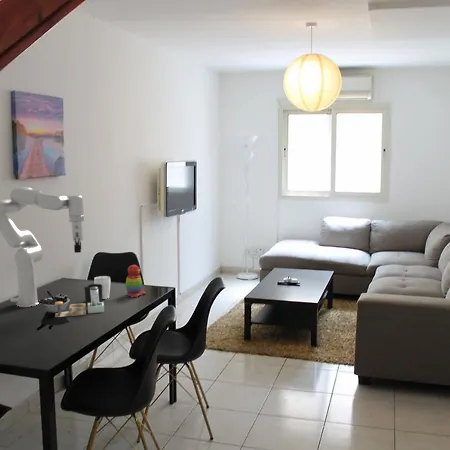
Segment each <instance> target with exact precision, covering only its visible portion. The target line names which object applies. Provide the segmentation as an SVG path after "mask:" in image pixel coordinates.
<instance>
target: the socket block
mask: <svg viewBox="0 0 450 450" xmlns="http://www.w3.org/2000/svg"><path fill="white" fill-rule="evenodd" d="M85 315H87V304H86V302H85V303H72V304H69V308H68V311H60V305H58V313H56V312H55V315H54V317H55V318H62V317H73V316H85Z"/></svg>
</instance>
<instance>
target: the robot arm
mask: <svg viewBox="0 0 450 450" xmlns="http://www.w3.org/2000/svg"><path fill="white" fill-rule="evenodd" d="M9 197H10V198H5V199H4V198H3V199H0V234H1V235H2V237H3V239H4V240H5V242H6V243H7V245H8V246H9V247H10V248H12V249H17V248H18V250H17V251H16V252H15V253H14V263H15V267H16V275H17V289H18V292H17V293H18V296H17V297H16V298H15V297H12V298H10V299H9V300H10V302H11V303H16V304H15V306H16V305H17V306H16V307H18V306H19V307H18V308H31V306H32V307H36V305H37V306H39V305H40V304H39V302H38V300H39V299H38V288H37V270H36V268H35V265H34V264H35V263H37V262H40V261H41V260H42V259H43V257H44V252H43V251H44V250H43V249H42V247H41V244H39V242H38V240H37V239H36V236H34V234H33V233H32V232H31V231H30V230H28V229H26V228H21V229H19V228H18V227H17V226H16V224H15V222H14V221H13V220H12V219H11V218H10V217H9V216H8V215H14V214H17V213H19V212H20V211H22V210H23V209H25V207H27V206H34V207H37V208H40V209H44V210H50V211H61V210H68V222H69V223H71V233H72V234H71V235H72V239H73V242H74V244H73V247H74V248H73V249H74V254H75V253H82V242H81V241H83V240H84V235H83V234H84V231H83V229H84V228H83V223H84V222H85V220H84V219H85V216H84V198H83V196H82V195H80V194H77V195H74V194H73V195H70V194H59V195H50V194H46V193H43V191H41V190H39V189H38V190H37V189H33V188H32V187H29V186H18V187H14V188H13V189H12V190H11V191H10V194H9ZM38 304H39V305H38Z"/></svg>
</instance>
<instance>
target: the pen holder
mask: <svg viewBox="0 0 450 450" xmlns="http://www.w3.org/2000/svg"><path fill="white" fill-rule="evenodd" d="M91 287H98V293H99V302H103V300H102V285H101V284H94V283H93V284H89V285H87V286H84V288H83V289H84V299H85V300H84V301H85V303H86V305H88V303H91V294H90V288H91Z"/></svg>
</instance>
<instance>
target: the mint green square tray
mask: <svg viewBox="0 0 450 450" xmlns="http://www.w3.org/2000/svg"><path fill="white" fill-rule="evenodd" d="M104 303H105V302H104V301H102V302H99V305H100V306H92V305H91V303H88V304H87V313H88V314H94V313H95V314H97V313H104V312H105V304H104Z"/></svg>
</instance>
